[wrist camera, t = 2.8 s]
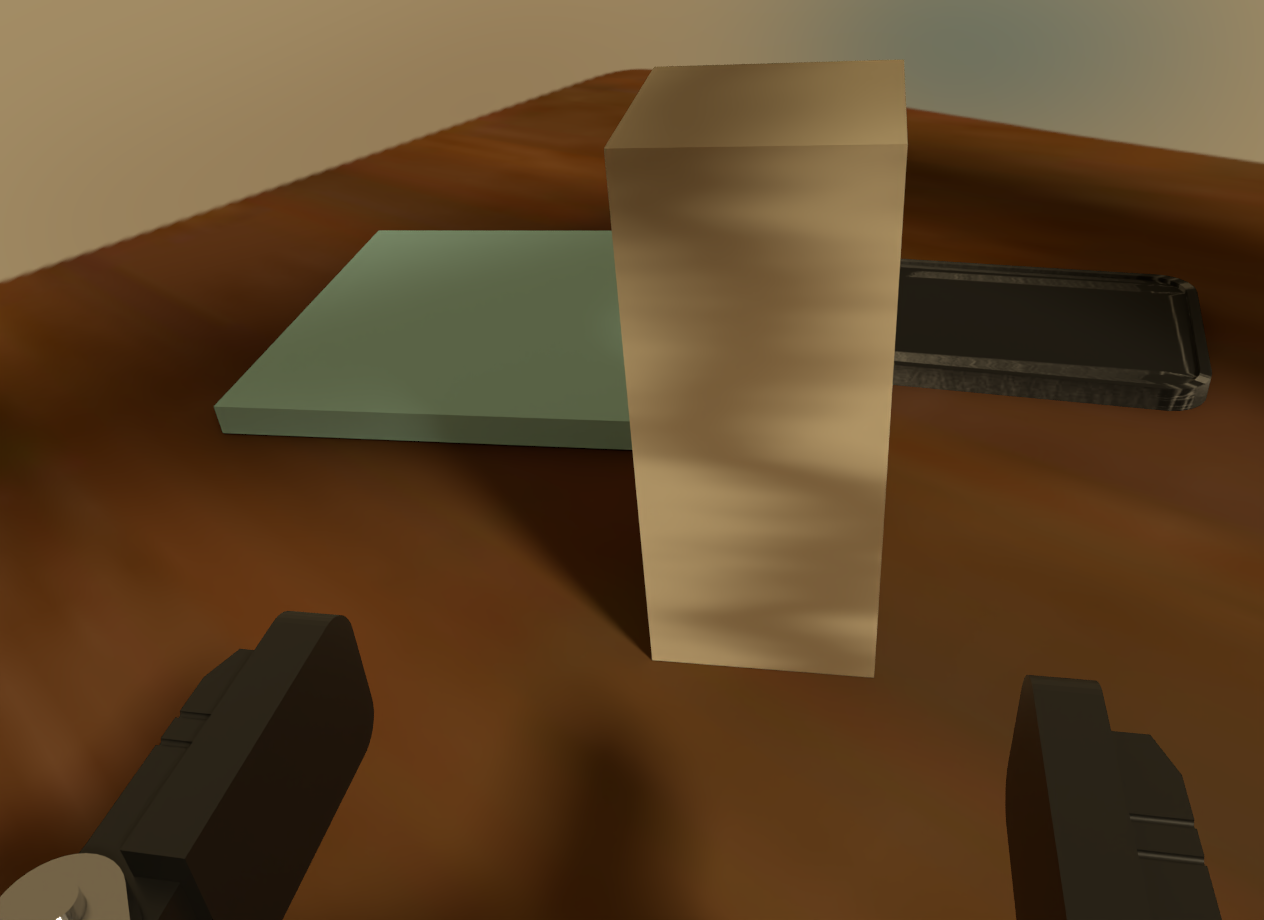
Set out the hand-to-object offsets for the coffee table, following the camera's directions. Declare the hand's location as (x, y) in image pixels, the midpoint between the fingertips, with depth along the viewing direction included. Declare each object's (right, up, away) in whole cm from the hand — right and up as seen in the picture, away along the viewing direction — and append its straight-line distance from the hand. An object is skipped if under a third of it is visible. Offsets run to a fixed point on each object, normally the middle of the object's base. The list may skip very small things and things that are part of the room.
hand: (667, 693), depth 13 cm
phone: (+11, +7, +24) cm, 27 cm away
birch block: (+3, -1, +14) cm, 14 cm away
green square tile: (-5, +7, +26) cm, 28 cm away
